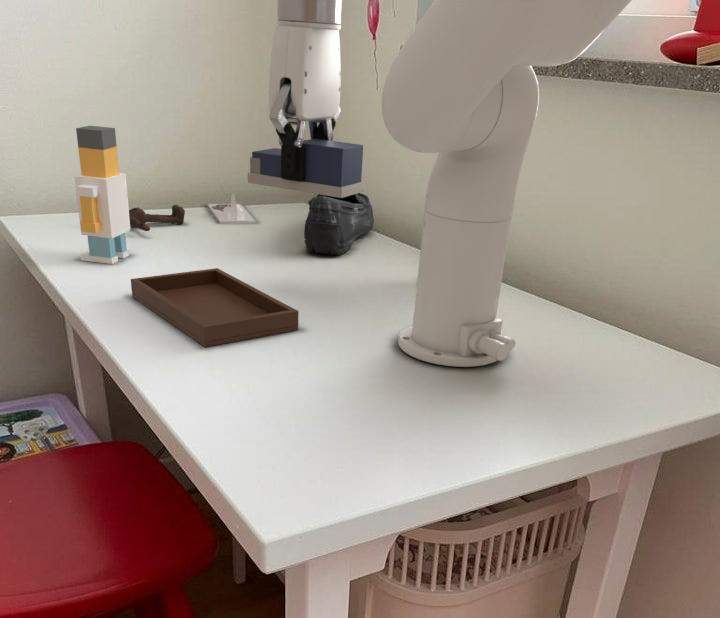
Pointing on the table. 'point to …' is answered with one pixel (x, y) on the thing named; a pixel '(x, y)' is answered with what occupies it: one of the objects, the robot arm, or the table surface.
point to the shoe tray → (214, 306)
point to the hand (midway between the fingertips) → (305, 175)
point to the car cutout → (231, 213)
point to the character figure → (101, 195)
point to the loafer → (337, 223)
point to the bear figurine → (155, 217)
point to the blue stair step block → (314, 168)
